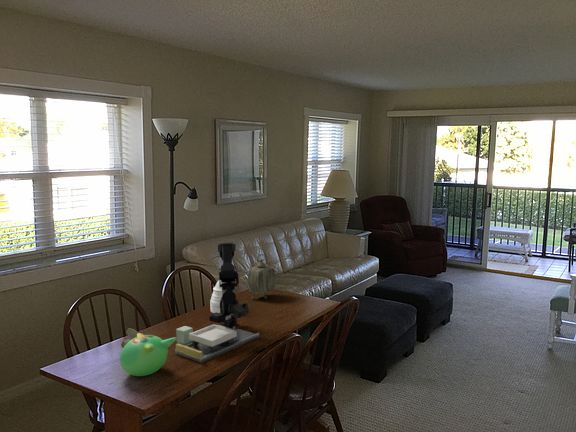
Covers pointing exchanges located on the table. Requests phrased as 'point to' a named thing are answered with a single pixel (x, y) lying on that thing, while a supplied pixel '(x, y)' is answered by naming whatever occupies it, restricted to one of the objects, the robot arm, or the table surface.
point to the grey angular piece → (131, 333)
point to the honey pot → (216, 298)
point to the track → (205, 351)
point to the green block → (183, 334)
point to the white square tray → (213, 336)
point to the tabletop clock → (261, 278)
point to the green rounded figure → (144, 354)
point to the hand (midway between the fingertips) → (230, 332)
